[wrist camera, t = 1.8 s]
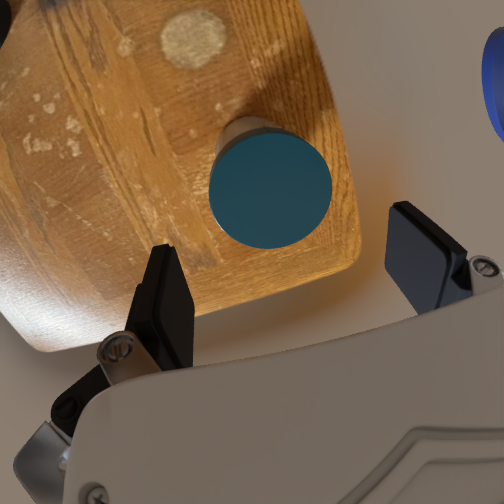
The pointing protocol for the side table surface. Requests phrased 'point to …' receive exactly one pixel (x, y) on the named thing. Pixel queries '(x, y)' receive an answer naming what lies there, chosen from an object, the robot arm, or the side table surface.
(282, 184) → the jar lid
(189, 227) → the side table surface
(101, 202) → the side table surface
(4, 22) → the mug
